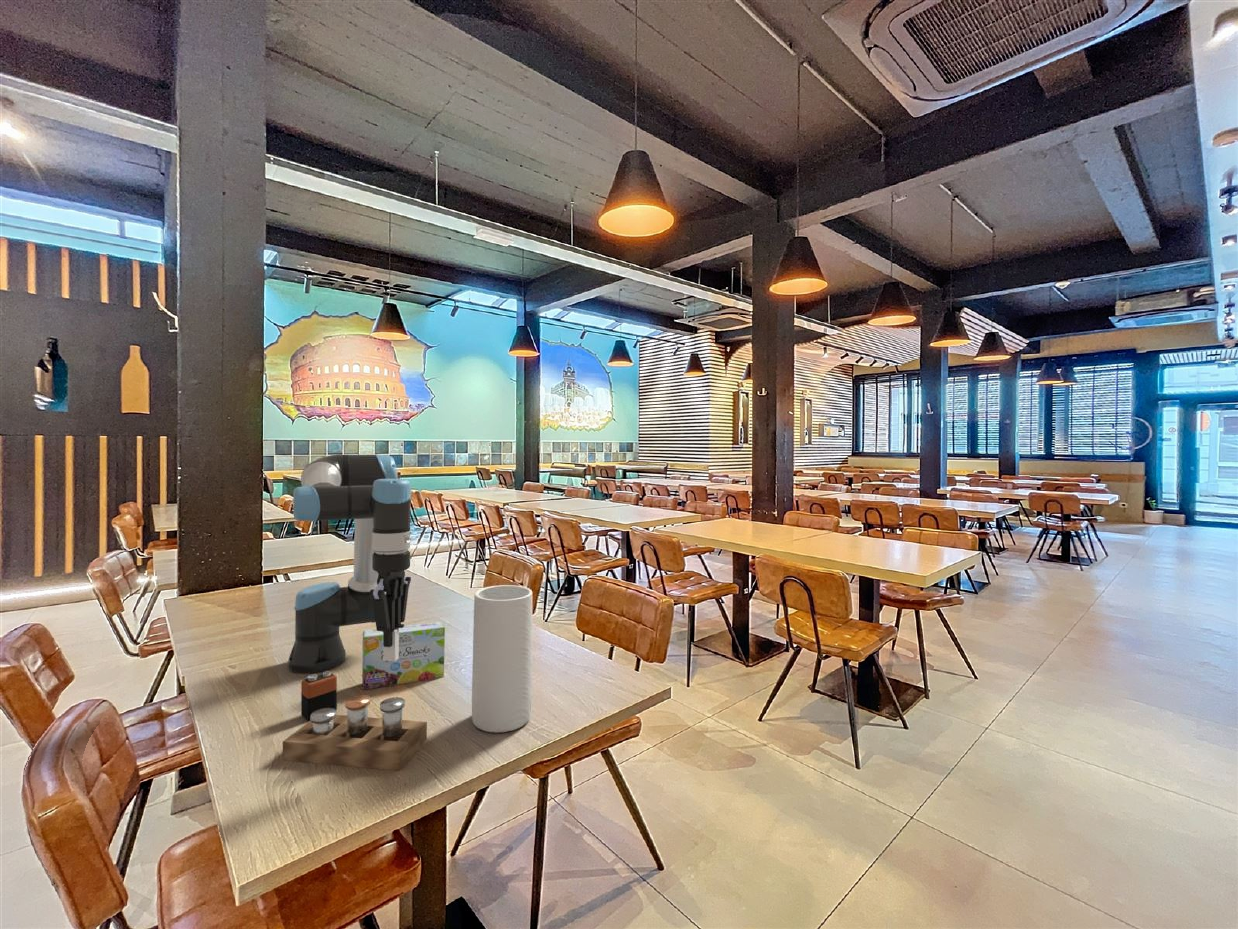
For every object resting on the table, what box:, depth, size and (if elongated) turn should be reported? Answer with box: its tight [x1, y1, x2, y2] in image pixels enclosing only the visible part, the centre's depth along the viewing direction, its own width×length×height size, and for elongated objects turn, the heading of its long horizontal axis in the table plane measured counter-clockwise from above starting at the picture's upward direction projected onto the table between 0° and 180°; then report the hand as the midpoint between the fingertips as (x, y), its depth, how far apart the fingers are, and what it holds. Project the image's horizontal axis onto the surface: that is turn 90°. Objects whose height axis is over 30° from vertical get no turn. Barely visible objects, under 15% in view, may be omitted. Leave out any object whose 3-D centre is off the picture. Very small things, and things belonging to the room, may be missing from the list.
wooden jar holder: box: [282, 714, 428, 772], centre depth 119 cm, size 26×12×4 cm, turn 84°
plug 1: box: [310, 708, 337, 735], centre depth 120 cm, size 5×5×6 cm
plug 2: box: [379, 696, 406, 737], centre depth 118 cm, size 5×5×6 cm
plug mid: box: [344, 694, 371, 734], centre depth 119 cm, size 5×5×6 cm
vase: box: [471, 584, 533, 734], centre depth 133 cm, size 14×14×32 cm
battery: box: [300, 670, 338, 722], centre depth 134 cm, size 4×7×10 cm, turn 142°
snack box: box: [361, 621, 446, 691], centre depth 153 cm, size 21×6×15 cm, turn 117°
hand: (390, 659), depth 117 cm, fingers closed
